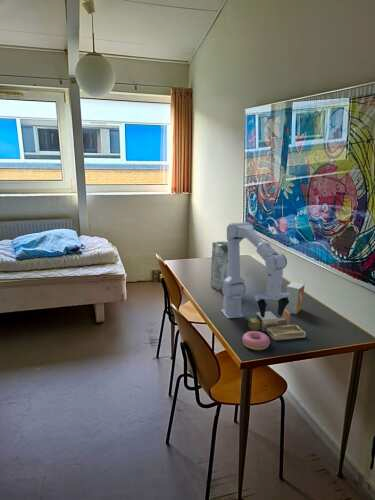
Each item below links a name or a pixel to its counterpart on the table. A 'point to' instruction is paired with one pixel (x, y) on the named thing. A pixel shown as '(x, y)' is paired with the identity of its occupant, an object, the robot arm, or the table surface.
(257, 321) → the olive rectangular pillar
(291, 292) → the small box
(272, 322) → the socket sleeve
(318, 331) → the table surface
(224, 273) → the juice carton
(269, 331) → the beige tray
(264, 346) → the doughnut
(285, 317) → the salmon pink block
